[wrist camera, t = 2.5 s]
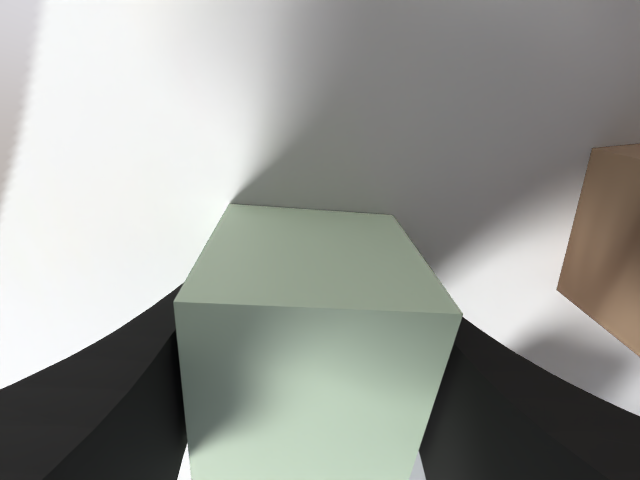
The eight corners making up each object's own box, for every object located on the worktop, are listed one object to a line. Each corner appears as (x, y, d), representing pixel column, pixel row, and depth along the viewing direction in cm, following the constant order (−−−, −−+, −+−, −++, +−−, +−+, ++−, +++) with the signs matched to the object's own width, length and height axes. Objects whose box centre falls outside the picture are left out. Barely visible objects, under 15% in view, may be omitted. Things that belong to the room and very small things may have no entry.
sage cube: (368, 340, 13) (406, 484, 8) (231, 336, 12) (192, 486, 8) (392, 214, 11) (463, 314, 6) (229, 203, 10) (173, 301, 6)
